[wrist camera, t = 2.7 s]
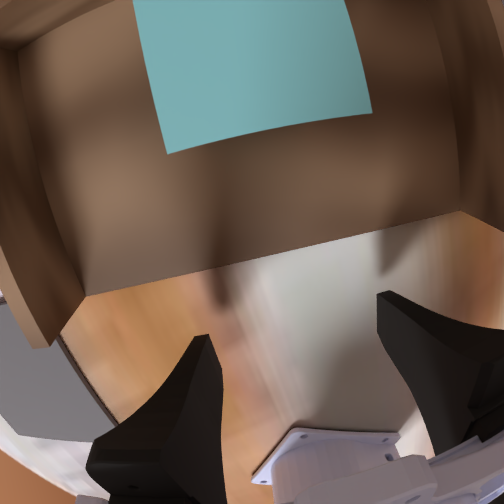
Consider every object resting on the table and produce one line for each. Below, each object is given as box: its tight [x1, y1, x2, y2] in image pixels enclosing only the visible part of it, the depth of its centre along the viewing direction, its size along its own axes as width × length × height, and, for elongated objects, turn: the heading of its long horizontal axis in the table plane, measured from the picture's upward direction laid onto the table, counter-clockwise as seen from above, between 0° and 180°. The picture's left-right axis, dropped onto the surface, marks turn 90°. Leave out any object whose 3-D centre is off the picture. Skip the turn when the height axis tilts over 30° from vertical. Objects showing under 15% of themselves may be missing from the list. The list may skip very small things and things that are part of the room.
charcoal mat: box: [0, 302, 118, 442], centre depth 16 cm, size 12×12×1 cm
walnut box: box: [0, 0, 504, 349], centre depth 9 cm, size 13×20×4 cm, turn 103°
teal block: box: [133, 0, 372, 154], centre depth 8 cm, size 4×4×6 cm
